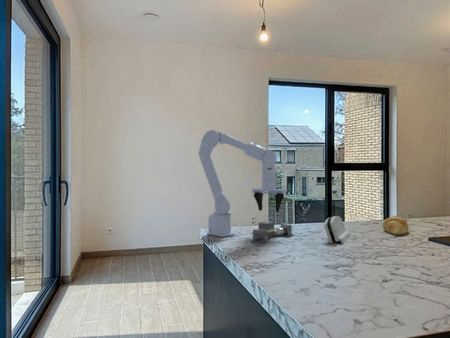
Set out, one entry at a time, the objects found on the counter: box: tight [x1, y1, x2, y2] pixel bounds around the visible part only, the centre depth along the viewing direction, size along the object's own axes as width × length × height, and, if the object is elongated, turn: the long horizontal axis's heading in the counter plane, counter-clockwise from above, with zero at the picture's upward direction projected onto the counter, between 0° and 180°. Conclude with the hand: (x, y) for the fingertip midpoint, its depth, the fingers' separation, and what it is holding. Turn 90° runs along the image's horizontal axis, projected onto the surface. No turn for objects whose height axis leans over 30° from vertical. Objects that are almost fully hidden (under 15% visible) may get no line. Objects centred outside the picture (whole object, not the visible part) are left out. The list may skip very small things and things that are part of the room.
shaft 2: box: [274, 222, 295, 237], centre depth 150 cm, size 8×6×4 cm
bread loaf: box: [381, 215, 409, 236], centre depth 156 cm, size 21×10×8 cm, turn 159°
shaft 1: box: [250, 228, 270, 244], centre depth 140 cm, size 8×6×4 cm
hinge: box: [323, 215, 352, 245], centre depth 142 cm, size 17×5×10 cm, turn 151°
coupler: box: [257, 220, 275, 240], centre depth 147 cm, size 5×5×6 cm
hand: (268, 210), depth 153 cm, fingers open, 7 cm apart
